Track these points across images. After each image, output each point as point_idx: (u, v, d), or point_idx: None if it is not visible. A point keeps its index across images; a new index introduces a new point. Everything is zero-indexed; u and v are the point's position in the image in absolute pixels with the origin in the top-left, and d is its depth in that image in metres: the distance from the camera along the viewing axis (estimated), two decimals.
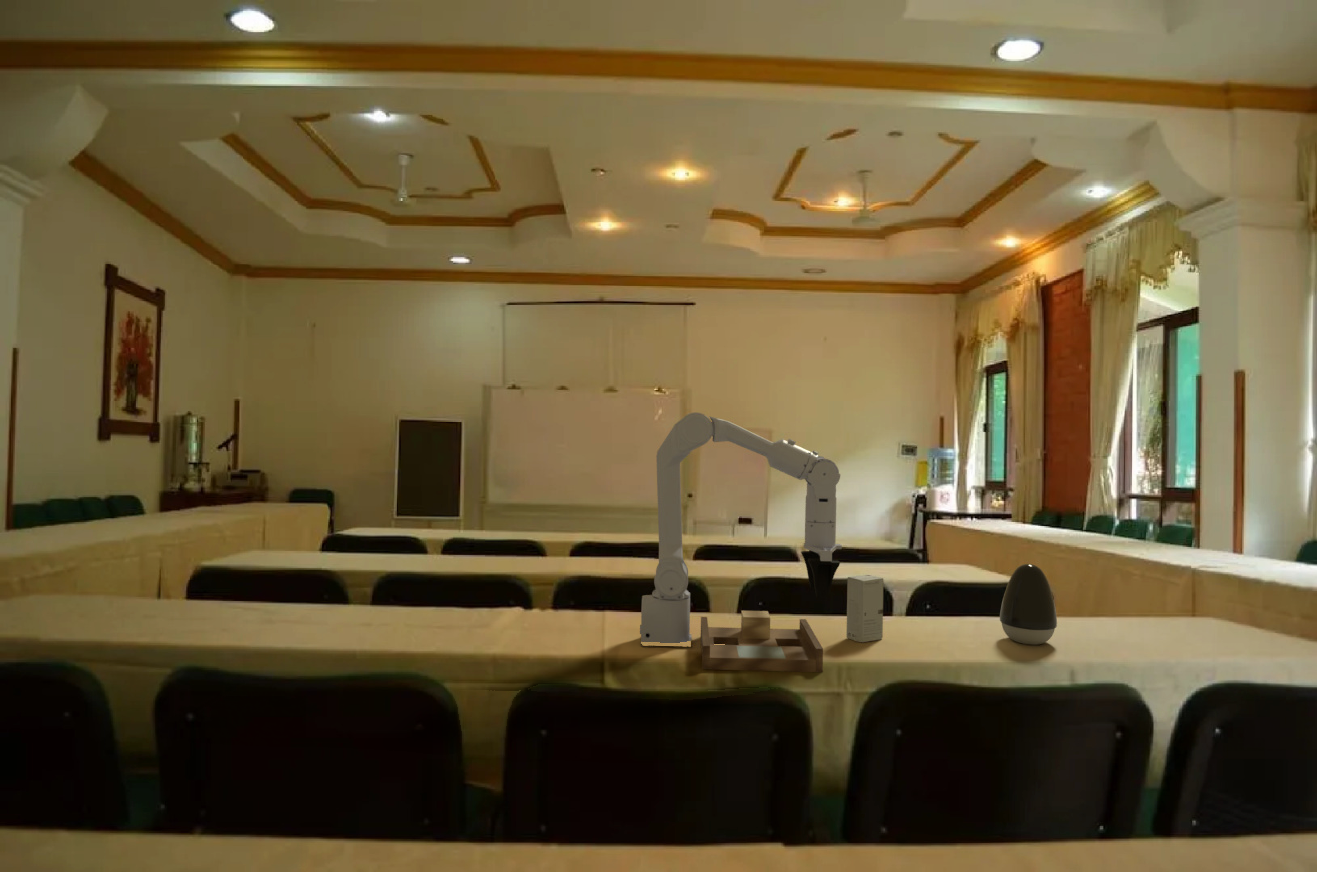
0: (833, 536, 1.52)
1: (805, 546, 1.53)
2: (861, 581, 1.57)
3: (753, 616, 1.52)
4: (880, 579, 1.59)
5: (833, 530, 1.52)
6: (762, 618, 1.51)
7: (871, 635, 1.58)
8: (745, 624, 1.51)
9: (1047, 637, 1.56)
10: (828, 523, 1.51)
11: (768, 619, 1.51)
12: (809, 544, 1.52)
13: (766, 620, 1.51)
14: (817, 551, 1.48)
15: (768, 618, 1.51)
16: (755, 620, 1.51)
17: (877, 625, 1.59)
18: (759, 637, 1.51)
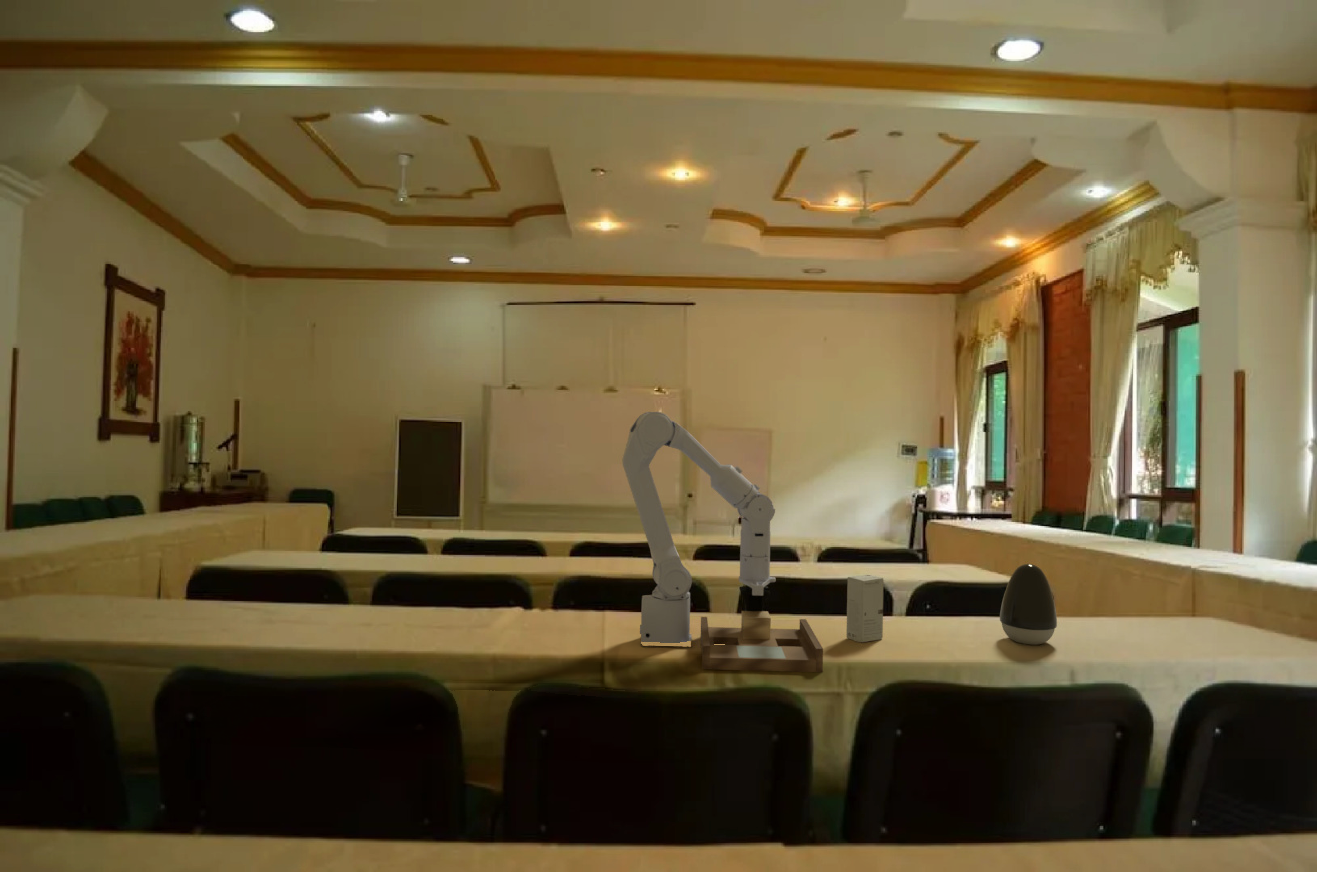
0: (767, 570, 1.55)
1: (740, 579, 1.56)
2: (861, 581, 1.57)
3: (753, 616, 1.51)
4: (880, 579, 1.59)
5: (767, 563, 1.55)
6: (762, 618, 1.51)
7: (871, 635, 1.58)
8: (746, 625, 1.51)
9: (1047, 637, 1.56)
10: (761, 557, 1.54)
11: (768, 619, 1.51)
12: (743, 577, 1.55)
13: (766, 620, 1.51)
14: (750, 585, 1.52)
15: (768, 618, 1.51)
16: (756, 620, 1.51)
17: (877, 625, 1.59)
18: (759, 637, 1.51)
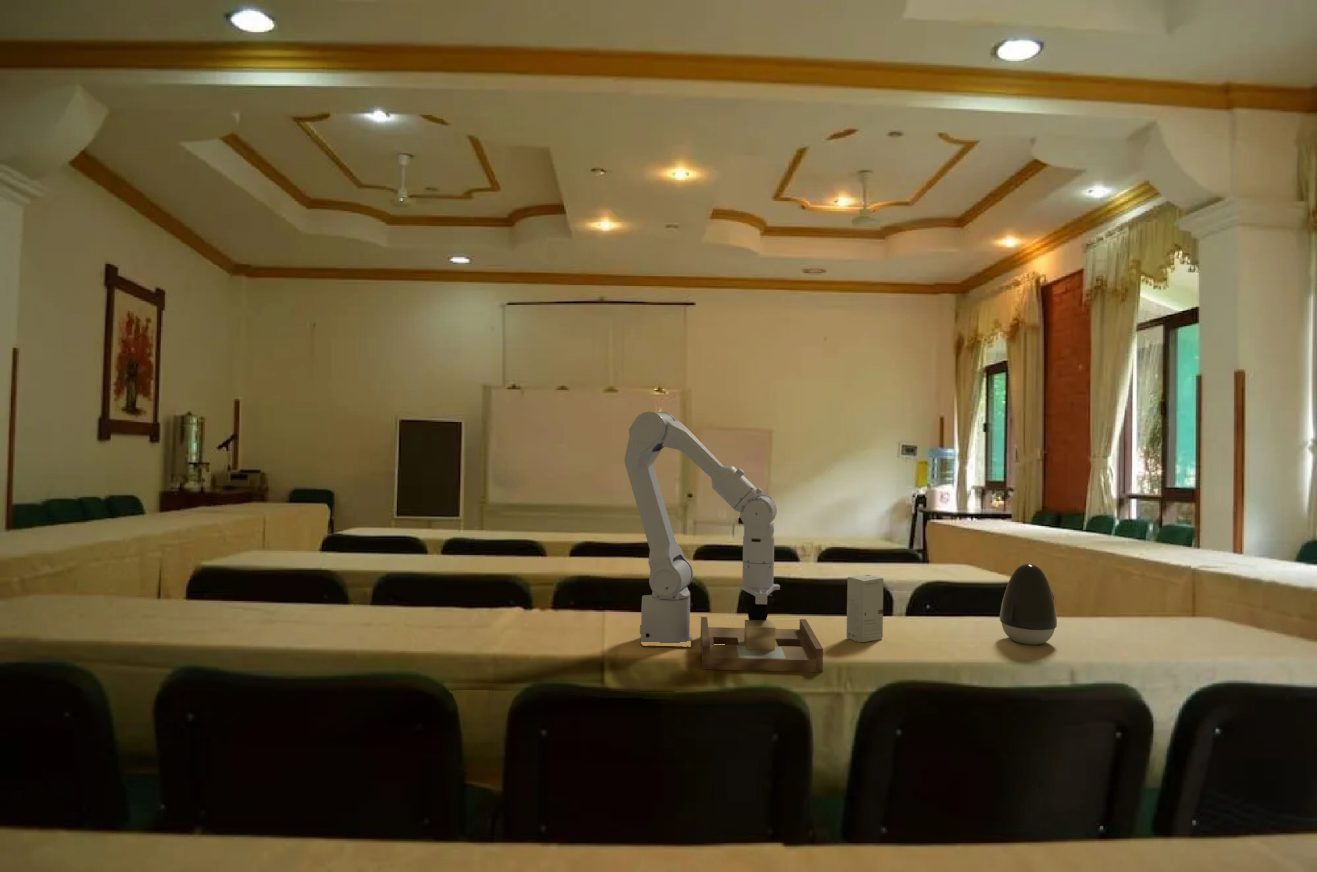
0: (770, 577, 1.48)
1: (742, 587, 1.49)
2: (861, 581, 1.57)
3: (757, 626, 1.44)
4: (880, 579, 1.59)
5: (771, 570, 1.48)
6: (767, 628, 1.44)
7: (871, 635, 1.58)
8: (749, 635, 1.44)
9: (1047, 637, 1.56)
10: (765, 564, 1.47)
11: (773, 629, 1.44)
12: (746, 585, 1.48)
13: (771, 630, 1.44)
14: (753, 593, 1.45)
15: (773, 628, 1.44)
16: (760, 630, 1.44)
17: (877, 625, 1.59)
18: (764, 648, 1.44)
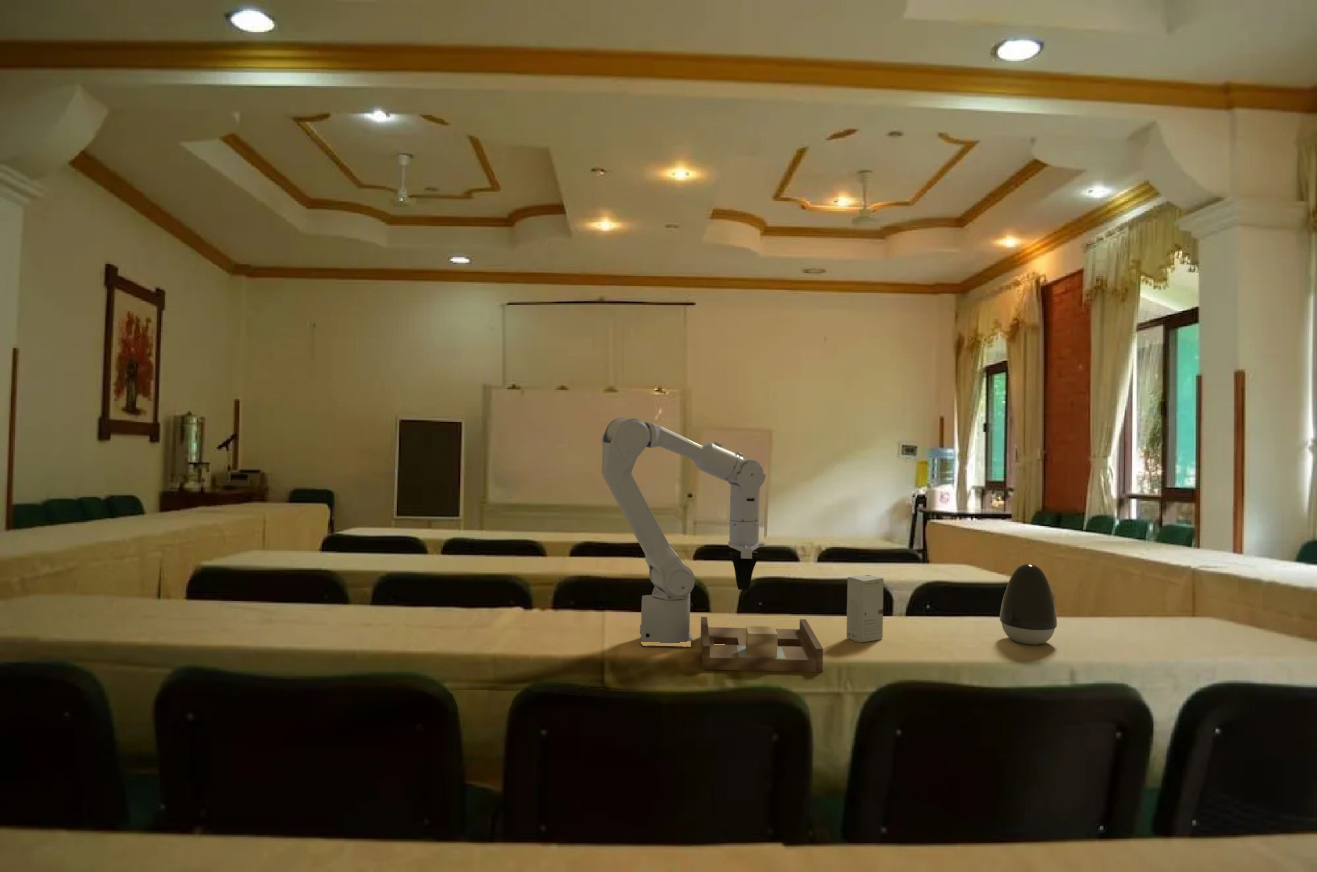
0: (756, 534, 1.57)
1: (729, 544, 1.58)
2: (861, 581, 1.57)
3: (759, 632, 1.40)
4: (880, 579, 1.59)
5: (756, 528, 1.57)
6: (769, 635, 1.39)
7: (871, 635, 1.58)
8: (751, 642, 1.40)
9: (1047, 637, 1.56)
10: (750, 522, 1.56)
11: (775, 636, 1.39)
12: (733, 542, 1.58)
13: (773, 637, 1.39)
14: (738, 549, 1.54)
15: (775, 635, 1.39)
16: (761, 636, 1.40)
17: (877, 625, 1.59)
18: (765, 655, 1.40)
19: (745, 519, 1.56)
